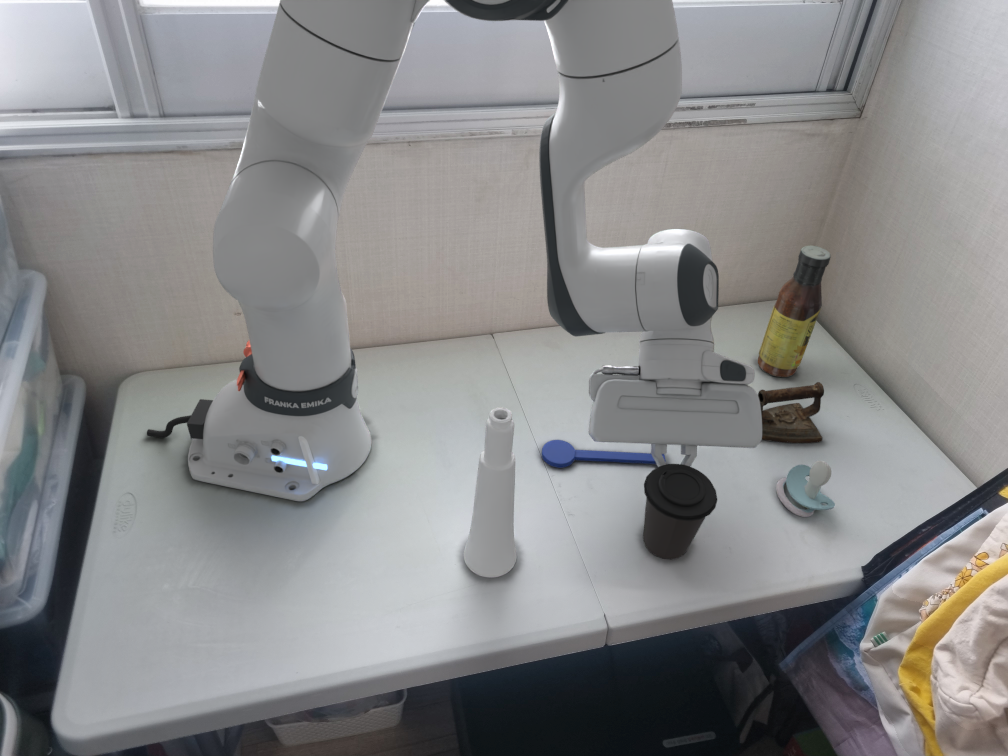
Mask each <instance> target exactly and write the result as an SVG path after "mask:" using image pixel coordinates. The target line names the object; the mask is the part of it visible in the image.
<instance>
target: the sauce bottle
mask: <svg viewBox="0 0 1008 756" xmlns="http://www.w3.org/2000/svg"><path fill="white" fill-rule="evenodd" d="M831 258H832V255H831V252H830V251H828V250H827V249H825V248H823V247H820V246H818V245H805V246H803V247H802V248H801V249H800V251H799V254H798V258H797V260H798V261H797V265H796V268H795V270H794V272H793V275H792V277H791V278H790V279H789V280H788V281H786V282H785V283H784V284H783V285H782V286H781V287H780V289H779V292H778V295H777V298H776V301H775V303H774V305H773V307H772V311H771V313H770V316H769V319H768V324H767V326H766V330H765V332H764V336H763V338H762V342H761V344H760V345H761V346H760V348H759V350H758V357H757V364H758V366H759V368H760V369H761V370H762V371H763V372H764V373H766V374H769V375H771V376H772V377H773V376H774V377H778V378H789V377H791V376H793V375H794V374H795V373H796V372H797V370H798V368H799V367H800V365H801V364H802V361H803V358H804V355H805V352H806V350H807V347H808V344H809V342H810V339H811V337H812V334H813V331H814V329H815V326H816V323H817V320H818V318H819V315H820V313H821V309H822V307H823V303H822V301H823V300H822V281H823V276H824V274H825V272H826V269H827V267H828V266H829V264H830V261H831Z"/></svg>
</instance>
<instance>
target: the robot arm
mask: <svg viewBox="0 0 1008 756" xmlns="http://www.w3.org/2000/svg"><path fill="white" fill-rule="evenodd" d="M431 1H432V0H279V4H278V7H277V9H276V10H277V11H276V15H275V18H274V22H273V25H272V29H271V33H270V37H269V40H268V43H267V47H266V51H265V54H264V58H263V61H262V65H261V70H260V71H259V76H258V79H257V83H256V87H255V94H254V98H253V103H252V108H251V112H250V117H249V121H248V125H247V128H246V133H245V137H244V140H243V145H242V149H241V152H240V155H239V159H238V162H237V165H236V168H235V171H234V174H233V176H232V178H231V181H230V183H229V186H228V189H227V192H226V193H225V196H224V199H223V201H222V204H221V206H220V208H219V211H218V214H217V216H216V219H215V221H214V225H213V234H212V235H213V236H212V263H213V269H214V274H215V277H216V279H217V280H218V283H219V284H220V285H221V287H222V288H223V289H224V291H225V292H226V293H228V295H230V296H231V297H232V298H233V299H235V301H237V303H238V305H239V307H240V309H241V312H242V315H243V318H244V321H245V325H246V330H247V335H248V341H246V343H245V348H244V349H243V351H242V353H243V355H244V357H245V358H243V360H241V363H240V365H239V367H238V370H239V374H238V376H237V378H235V379H233V380H231V381H229V382H228V383H226V384H225V385H223V387H222V388H221V389H220V390H219V391H218V392H217V393H216V395H215V397H214V398H213V399H204V398H203V399H202V398H200V399H199V400H198V402H197V404H196V405H195V408H194V409H193V411H192V413H191V414H189V415H184V416H178V417H176V418H173V419H171V420H170V421H168V422H167V424H166V426H165V429H164V430H156V429H149V428H148V429H147V431H146V436H147V437H154V438H158V439H159V438H160V439H163V438H168V437H169V436H170V435H172V433H173V431H174V427H176V426H179V425H182V424H186V426H187V430H188V434H189V438H190V439H191V442H190V445H189V449H188V453H187V465H188V471H189V474H190V477H191V478H192V480H194V481H197V482H202V483H207V484H212V485H216V486H222V487H226V488H232V489H237V490H242V491H246V492H250V493H256V494H260V495H266V496H270V497H276V498H279V499H285V500H288V501H289V500H290V501H295V502H306V501H307V500H309V499H311V498H313V497H314V496H315V495H316V494H318V493H319V492H320V491H321V490H322V489H323V488H325V487H327V486H329V485H331V484H334V483H337V482H339V481H342V480H343V479H346V478H347V477H349V476H351V474H353V473H355V472H356V471H357V470H359V468H360V467H361V466H362V465H363V464H364V463H365V462H366V460H367V458H368V457H369V455H370V452H371V450H372V443H373V441H372V435H371V432H370V430H369V427H368V426H367V424H366V422H365V419H364V417H363V414H362V411H361V408H360V407H361V406H360V403H359V399H358V395H359V375H358V367H357V363H356V358H355V354H354V351H353V349H352V348H351V340H350V327H349V319H348V318H349V317H348V308H347V307H348V306H347V300H346V297H345V295H344V294H343V290H342V287H341V282H340V278H339V272H338V265H337V253H336V252H337V234H338V233H337V232H338V224H339V218H340V213H341V208H342V205H343V200H344V197H345V194H346V191H347V189H348V185H349V182H350V180H351V179H352V176H353V174H354V171H355V169H356V167H357V165H358V162H359V160H360V159H361V156H362V154H363V152H364V150H365V148H366V146H367V145H368V142H369V140H370V139H371V138H372V136H373V135H374V133H375V129H376V127H377V124H378V122H379V119H380V117H381V114H382V111H383V109H384V106H385V103H386V101H387V98H388V96H389V93H390V91H391V88H392V85H393V82H394V79H395V78H396V75H397V72H398V69H399V67H400V64H401V62H402V60H403V56H404V54H405V52H406V48H407V45H408V42H409V39H410V37H411V34H412V31H413V29H414V26H415V24H416V22H417V20H418V19H419V17H420V15H421V13H422V11H423V10H424V8H426V6H427V5H428V3H429V2H431ZM443 1H444V3H446V5H448V6H449V7H451V8H452V9H453V10H454V11H455V12H458V13H459V14H461V15H463V16H465V17H467V18H471V19H474V20H477V21H483V22H484V21H485V22H486V21H487V22H506V21H509V22H510V21H533V22H534V21H535V22H543V23H544V25H545V29H546V31H547V34H548V38H549V40H550V45H551V49H552V54H553V58H554V64H555V67H556V72H557V77H558V84H559V88H558V89H559V96H558V102H557V106H556V107H557V108H556V111H555V112H554V113H553V114H551V115H550V116H549V117H547V119H546V120H545V122H544V123H543V127H542V129H541V134H540V140H539V150H538V152H539V153H538V154H539V155H538V156H539V158H538V160H539V163H538V165H539V181H540V182H539V183H540V197H541V206H542V218H543V229H544V240H545V250H546V252H545V253H546V300H547V308H548V313H549V315H550V316H551V318H552V319H553V320H554V322H556V324H557V325H558V326H559V327H560V328H561V329H563V330H564V331H565V332H567V333H568V334H570V336H573V337H584V336H585V337H586V336H594V335H603V334H605V333H640V335H639V340H638V365H620V366H615V365H611V364H607V365H602V366H601V368H597V369H595V370H593V372H592V373H591V374H590V375H589V378H588V395H589V398H590V399H591V400H592V404H591V408H590V415H589V423H588V434H589V436H590V438H591V439H592V441H594V442H596V443H616V444H645V445H650V453H651V455H652V456H653V458H654V460H655V462H656V464H655V465H656V466H657V468H658V467H660V466H662V465H666V464H667V461H666V462H665V460H666V459H665V460H664V458H663V456H662V454H664V455H667V453H668V452H667V451H668V450H667V449H668V445H669V446H670V445H671V446H680V454H681V455H682V456H684V457H683V459H682V461H681V463H680V464H682V465H687V466H690V467H692V465H693V463H694V461H696V460H695V459H697V456H698V447H720V448H721V447H722V448H740V449H741V448H743V449H744V448H745V449H755V448H757V447H758V445H759V444H760V443H761V442H762V415H761V407H760V400H759V397H758V392H757V391H756V390H755V389H754V388H753V387H752V386H750V384H753V382H754V381H755V375H756V372H755V368H754V367H753V366H751V365H749V364H747V363H744V362H741V361H738V360H736V359H734V358H730V357H727V356H725V355H722V354H719V353H717V352H715V339H714V335H713V332H712V319H713V316H714V315H715V314H716V312H717V311H718V310H719V290H720V288H719V285H720V278H719V277H720V276H719V275H720V274H719V269H718V267H717V264H715V262H714V261H713V254H712V247H711V244H710V241H709V239H708V238H707V237H706V236H705V235H704V234H702V233H700V232H698V231H696V230H692V229H687V228H668V229H663V230H660V231H658V232H655V233H654V234H652V235H651V236H650V237H649V238H648V241H647V243H645V244H640V245H627V246H626V245H625V246H611V247H600V246H597V245H594V244H593V243H591V242H590V241H589V240H588V233H587V212H586V211H587V210H586V192H585V188H586V187H585V184H586V181H587V180H588V179H589V178H590V177H591V176H593V175H594V174H595V173H597V172H599V171H600V170H602V169H604V168H605V167H607V166H609V165H610V164H612V163H615V162H616V161H618V160H620V159H622V158H625V157H626V156H629V155H630V154H632V153H634V152H635V151H637V150H639V149H641V148H642V147H644V146H645V145H646V144H648V143H649V142H650V141H651V140H652V139H654V138H655V137H656V136H657V135H658V134H659V133H660V132H661V131H662V129H664V127H665V126H666V125H667V124H668V123H669V121H670V120H671V118H672V116H673V115H674V113H675V112H676V110H677V108H678V105H679V103H680V100H681V97H682V96H681V95H682V92H683V91H682V90H683V65H682V64H683V63H682V54H681V44H680V37H679V30H678V24H677V23H678V22H677V16H676V12H675V7H674V2H673V0H443ZM600 372H601V373H600Z"/></svg>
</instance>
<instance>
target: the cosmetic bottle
mask: <svg viewBox="0 0 1008 756" xmlns="http://www.w3.org/2000/svg"><path fill="white" fill-rule="evenodd" d="M484 433H485V434H484V449H483V450H482V451H481V452H480V455H479V458H478V467H477V475H476V482H475V491H474V499H473V500H474V501H473V507H472V515H471V520H470V521H471V523H470V527H469V532H468V535H467V540H466V544H465V547H464V549H463V561H464V563H465V565H466V567H467V568H468V569H469V570H470V571H471V572H473V573H474V574H475V575H477V576H480V577H483V578H490V579H491V578H498V577H502V576H504V575H506V574H507V573H509V572H510V571H511V570H513V568H514V566H515V565H516V563H517V557H518V553H517V549H516V541H515V491H516V490H515V489H516V456H515V454H514V452H513V447H514V445H513V444H514V435H515V434H514V433H515V422H514V419H513V413H512V410H510V409H509V408H507V407H502V406H501V407H500V406H498V407H495V408H492V409H491V410H490V411H489V413H488V418H487V420H486V422H485V432H484Z"/></svg>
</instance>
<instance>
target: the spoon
mask: <svg viewBox="0 0 1008 756" xmlns="http://www.w3.org/2000/svg"><path fill="white" fill-rule="evenodd" d="M662 456H663V458H664V460H665V462H666V463H667V461H666V454H662ZM541 458H542V460H543V461H544V463H546V464H547V465H548V466H550V467H553V468H558V469H563V468H567V467H570V466H571V465H572V464H574V462H575V461H584V462H603V463H622V464H623V463H624V464H626V463H627V464H643V465H645V464H646V465H657V464H656V462H655V460H654V458H653V456H652V455H651V452H650V453H649V452H630V451H629V452H628V451H611V450H610V451H609V450H589V449H588V450H587V449H575V447H574V446H573V445H572V444H571V443H570V442H568V441H567V440H563V439H552V440H549V441H547V442H545V443H544V444H543V446H542V448H541Z"/></svg>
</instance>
